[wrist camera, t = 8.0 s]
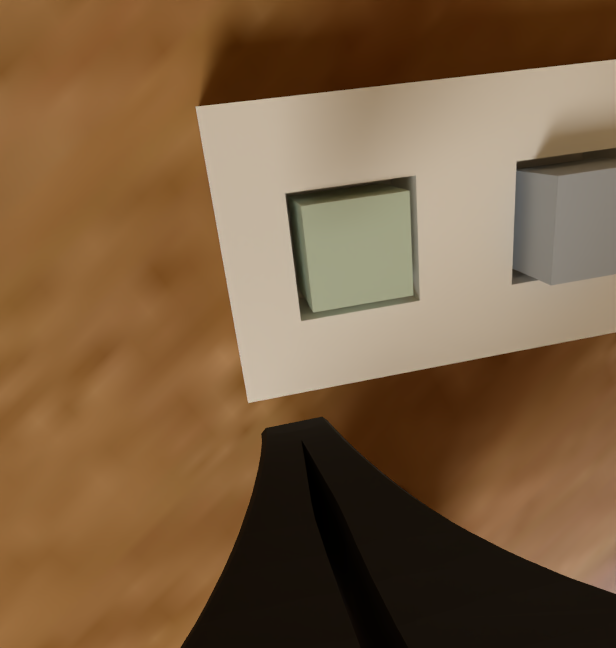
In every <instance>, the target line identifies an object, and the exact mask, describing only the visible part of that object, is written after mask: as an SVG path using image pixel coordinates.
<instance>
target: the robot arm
mask: <svg viewBox="0 0 616 648" xmlns="http://www.w3.org/2000/svg"><path fill="white" fill-rule="evenodd" d="M261 435H262V449H261V457H260V462H259V468H258V473H257V477H256V481H255V485H254V489H253V493H252V496H251V499H250V503H249V506H248V509H247V512H246V515H245V517H244V520H243V523H242V526H241V529H240V532H239V535H238V537H237V540H236V542H235V545H234V547H233V549H232V552H231V554H230V556H229V559H228V561H227V563H226V565H225V568H224V570H223V572H222V574H221V576H220V578H219V580H218V582H217V584H216V586H215V588H214V590H213V592H212V594H211V596H210V598H209V600H208V602H207V604H206V605H205V607H204V609H203V611H202V613H201V615H200V616H199V618H198V620H197V622H196V623H195V625H194V627H193V628H192V630H191V632H190V633H189V635H188V636H187V638H186V640H185V641H184V643H183V644H182V646H181V648H616V594H614V593H611V592H608V591H606V590H603V589H600V588H597V587H594V586H591V585H588V584H586V583H583V582H580V581H577V580H574V579H571V578H569V577H566V576H564V575H561V574H559V573H557V572H554V571H552V570H549V569H547V568H545V567H542V566H540V565H538V564H535V563H533V562H530V561H528V560H526V559H524V558H521V557H519V556H517V555H515V554H513V553H511V552H508V551H506V550H504V549H502V548H500V547H498V546H496V545H494V544H492V543H490V542H488V541H487V540H485V539H483V538H481V537H479V536H477V535H475V534H473V533H471V532H469V531H467V530H465V529H464V528H462V527H460V526H458V525H456V524H455V523H453V522H451V521H449V520H448V519H446V518H445V517H443V516H442V515H440V514H438V513H437V512H435V511H434V510H432V509H431V508H429V507H428V506H426V505H425V504H423V503H422V502H420V501H419V500H417V499H416V498H415V497H413V496H412V495H410V494H409V493H408V492H406V491H405V490H404V489H402V488H401V487H400V486H398V485H397V484H396V483H394V482H393V481H392V480H391V479H389V478H388V477H387V476H386V475H384V474H383V473H382V472H381V471H380V470H378V469H377V468H376V467H375V466H374V465H373V464H371V463H370V462H369V461H368V460H367V459H366V458H365V457H363V456H362V455H361V454H360V453H359V452H358V451H357V450H356V449H355V448H354V447H353V446H352V445H351V444H350V443H348V442H347V441H346V440H345V439H344V438H343V437H342V436H341V435H340V434H339V433H338V431H337V430H336V429H335V428H334V427H333V426H332V425H331V424H330V423H329V422H328V421H327V420H326V419H324V418H323V417H319V418H314V419H309V420H304V421H299V422H294V423H289V424H284V425H279V426H274V427H269V428H266V429H265V430H264V431H263V432H262V434H261Z"/></svg>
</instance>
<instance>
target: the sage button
mask: <svg viewBox="0 0 616 648" xmlns="http://www.w3.org/2000/svg"><path fill="white" fill-rule="evenodd" d="M288 201H289V209H290V217H291V225H292V234H293V242H294V250H295V258H296V266H297V274H298V282H299V290H300V291H301V293H302V295H303V296H304V298H305V300H306V301H307V303H308V305H309V306H310V308H311V310H312V311H313V313H314V312H319V311H325V310H331V309H337V308H343V307H349V306H354V305H360V304H366V303H372V302H378V301H384V300H389V299H395V298H401V297H407V296H413V271H412V243H411V216H410V191H409V190H405V189H402V188H398V187H395V186H391V185H388V184H384V183H378V184H371V185H364V186H357V187H349V188H342V189H335V190H328V191H321V192H314V193H306V194H299V195H292V196H288Z"/></svg>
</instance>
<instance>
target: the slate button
mask: <svg viewBox="0 0 616 648" xmlns="http://www.w3.org/2000/svg"><path fill="white" fill-rule="evenodd" d="M512 269H515V270H517V271H519V272H522V273H524V274H526V275H528V276H531V277H533V278H535V279H537V280H540V281H542V282H544V283H546V284H549V285H556V284H562V283H568V282H573V281H579V280H585V279H591V278H596V277H602V276H608V275H613V274H616V159H615V158H599V157H598V158H591V159H584V160H577V161H570V162H563V163H556V164H549V165H541V166H534V167H527V168H520V169H516V189H515V215H514V240H513V266H512Z"/></svg>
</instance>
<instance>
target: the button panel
mask: <svg viewBox="0 0 616 648" xmlns="http://www.w3.org/2000/svg"><path fill="white" fill-rule="evenodd" d="M196 112H197V118H198V123H199V129H200V134H201V140H202V146H203V151H204V157H205V162H206V168H207V174H208V179H209V185H210V191H211V196H212V202H213V207H214V213H215V219H216V224H217V230H218V236H219V241H220V247H221V252H222V258H223V264H224V269H225V275H226V280H227V286H228V292H229V297H230V303H231V309H232V314H233V320H234V325H235V331H236V337H237V342H238V348H239V354H240V359H241V365H242V370H243V376H244V382H245V387H246V393H247V398H248V403H250V402H255V401H261V400H266V399H271V398H276V397H281V396H287V395H292V394H297V393H302V392H307V391H313V390H318V389H323V388H328V387H333V386H339V385H344V384H349V383H354V382H360V381H365V380H370V379H375V378H380V377H386V376H391V375H396V374H401V373H406V372H412V371H417V370H422V369H427V368H432V367H438V366H443V365H448V364H453V363H459V362H464V361H469V360H474V359H479V358H485V357H490V356H495V355H500V354H505V353H511V352H516V351H521V350H526V349H531V348H537V347H542V346H547V345H552V344H557V343H563V342H568V341H573V340H578V339H584V338H589V337H594V336H599V335H604V334H610V333H615V332H616V274H613V275H608V276H602V277H596V278H591V279H585V280H579V281H573V282H568V283H562V284H556V285H549V284H546V283H544V282H542V281H540V280H537V279H535V278H533V277H531V276H528V275H526V274H524V273H522V272H519V271H517V270H515V269H512V266H513V240H514V215H515V189H516V169H520V168H527V167H534V166H541V165H549V164H556V163H563V162H570V161H577V160H584V159H591V158H598V157H599V158H615V159H616V59H615V60H606V61H597V62H588V63H579V64H570V65H562V66H553V67H544V68H535V69H526V70H517V71H508V72H499V73H491V74H482V75H473V76H464V77H455V78H446V79H437V80H428V81H420V82H411V83H402V84H393V85H384V86H375V87H366V88H357V89H349V90H340V91H331V92H322V93H313V94H304V95H295V96H286V97H278V98H269V99H260V100H251V101H242V102H233V103H224V104H215V105H206V106H198V107H196ZM378 183H384V184H388V185H391V186H395V187H398V188H402V189H405V190H409V191H410V216H411V243H412V271H413V296H407V297H401V298H395V299H389V300H384V301H378V302H372V303H366V304H360V305H354V306H349V307H343V308H337V309H331V310H325V311H319V312H314V313H313V311H312V310H311V308H310V306H309V305H308V303H307V301H306V300H305V298H304V296H303V295H302V293H301V291H300V290H299V282H298V274H297V266H296V258H295V250H294V242H293V234H292V225H291V217H290V209H289V201H288V196H292V195H299V194H306V193H314V192H321V191H328V190H335V189H342V188H349V187H357V186H364V185H371V184H378Z"/></svg>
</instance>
